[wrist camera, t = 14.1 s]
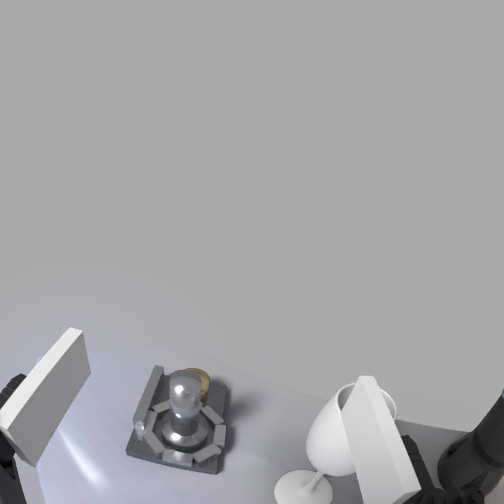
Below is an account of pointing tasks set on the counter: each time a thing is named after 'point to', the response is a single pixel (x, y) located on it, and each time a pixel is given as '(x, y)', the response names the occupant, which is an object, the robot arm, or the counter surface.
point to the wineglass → (324, 454)
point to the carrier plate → (158, 404)
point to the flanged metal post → (184, 413)
